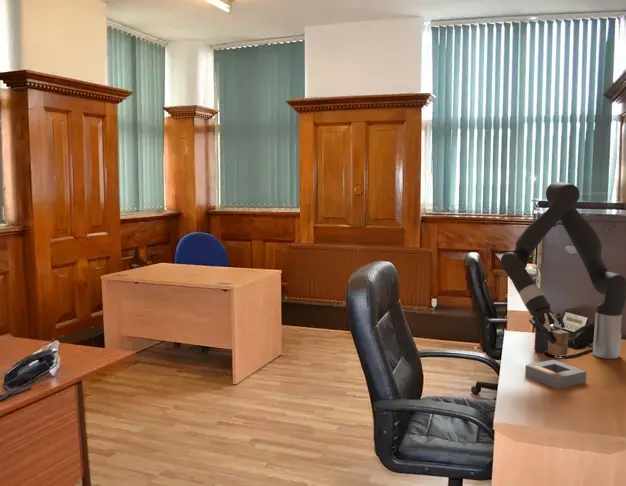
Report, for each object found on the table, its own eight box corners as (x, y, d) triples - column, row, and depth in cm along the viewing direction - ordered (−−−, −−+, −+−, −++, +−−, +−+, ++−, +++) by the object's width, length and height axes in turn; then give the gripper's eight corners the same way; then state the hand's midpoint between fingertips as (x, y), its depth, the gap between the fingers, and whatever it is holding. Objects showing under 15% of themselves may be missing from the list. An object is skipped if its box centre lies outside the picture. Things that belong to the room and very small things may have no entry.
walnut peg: (556, 351, 213) (558, 328, 212) (567, 354, 209) (568, 332, 208) (547, 352, 211) (549, 330, 210) (557, 356, 207) (559, 333, 206)
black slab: (545, 346, 251) (547, 310, 249) (555, 348, 248) (557, 312, 246) (533, 351, 243) (535, 315, 242) (543, 354, 240) (545, 317, 238)
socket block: (552, 370, 221) (553, 359, 221) (585, 382, 209) (586, 370, 208) (525, 376, 215) (525, 364, 214) (557, 389, 202) (558, 377, 202)
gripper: (526, 296, 212) (551, 338, 203) (554, 292, 219) (580, 333, 210) (513, 307, 218) (538, 349, 209) (542, 304, 224) (566, 344, 215)
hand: (559, 341), depth 209 cm, fingers closed on walnut peg, 4 cm apart
